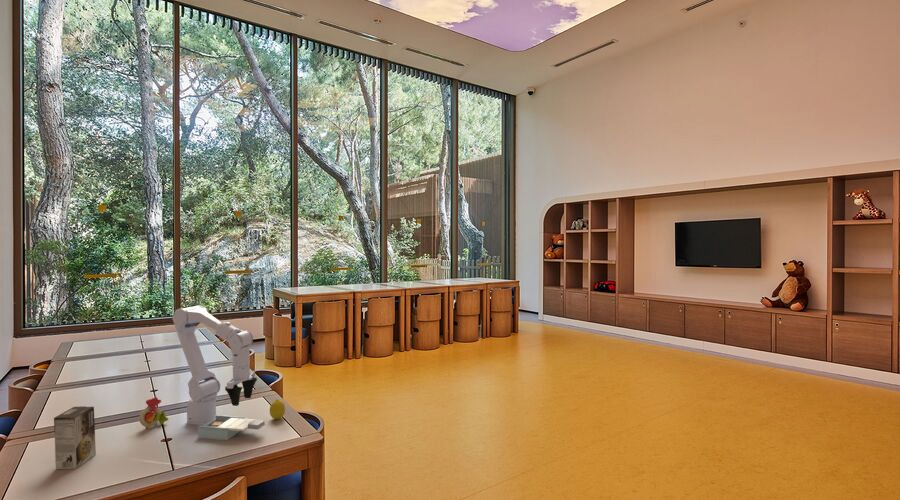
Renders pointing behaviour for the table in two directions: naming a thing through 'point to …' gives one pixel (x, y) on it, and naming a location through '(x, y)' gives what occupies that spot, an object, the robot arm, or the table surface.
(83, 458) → the coffee box
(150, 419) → the bird rattle
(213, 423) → the block
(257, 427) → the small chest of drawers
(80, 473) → the table surface
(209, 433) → the tub
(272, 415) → the lemon
